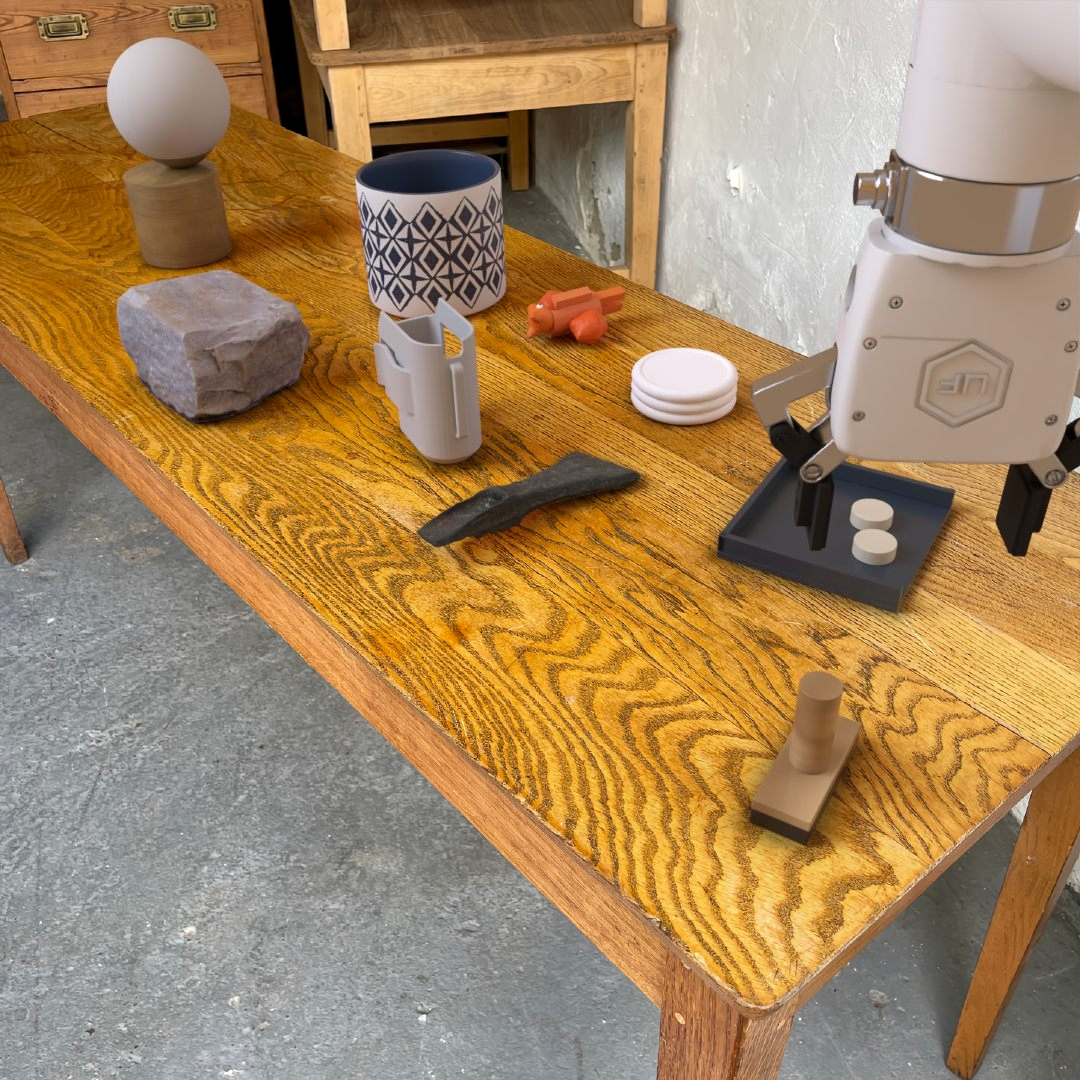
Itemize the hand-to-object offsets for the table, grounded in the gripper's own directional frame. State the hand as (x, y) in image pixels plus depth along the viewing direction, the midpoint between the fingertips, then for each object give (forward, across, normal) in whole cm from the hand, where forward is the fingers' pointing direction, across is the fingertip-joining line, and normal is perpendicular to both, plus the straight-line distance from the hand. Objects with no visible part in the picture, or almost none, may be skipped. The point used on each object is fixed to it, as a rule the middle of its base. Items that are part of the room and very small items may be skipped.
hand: (910, 537), depth 56 cm
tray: (+18, +2, +26) cm, 32 cm away
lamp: (+19, -71, +88) cm, 115 cm away
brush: (+18, -3, 0) cm, 19 cm away
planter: (+19, -37, +73) cm, 84 cm away
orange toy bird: (+19, -20, +62) cm, 68 cm away
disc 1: (+18, +5, +27) cm, 33 cm away
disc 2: (+18, +4, +23) cm, 30 cm away
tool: (+19, -23, +29) cm, 42 cm away
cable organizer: (+19, -32, +40) cm, 55 cm away
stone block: (+19, -55, +51) cm, 77 cm away
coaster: (+19, -9, +48) cm, 52 cm away
